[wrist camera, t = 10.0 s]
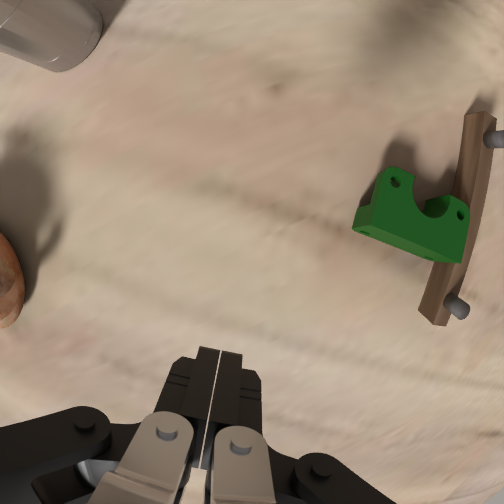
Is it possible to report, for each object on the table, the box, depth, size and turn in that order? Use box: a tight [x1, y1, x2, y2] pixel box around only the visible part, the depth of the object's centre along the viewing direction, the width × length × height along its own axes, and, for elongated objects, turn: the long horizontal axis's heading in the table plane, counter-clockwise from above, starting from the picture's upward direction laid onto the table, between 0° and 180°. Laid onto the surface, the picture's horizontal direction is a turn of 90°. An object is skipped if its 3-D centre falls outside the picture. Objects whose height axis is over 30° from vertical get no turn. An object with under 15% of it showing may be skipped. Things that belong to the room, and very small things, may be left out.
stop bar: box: [418, 111, 504, 326], centre depth 28 cm, size 2×24×7 cm, turn 168°
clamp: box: [352, 167, 470, 264], centre depth 29 cm, size 12×6×9 cm, turn 66°
